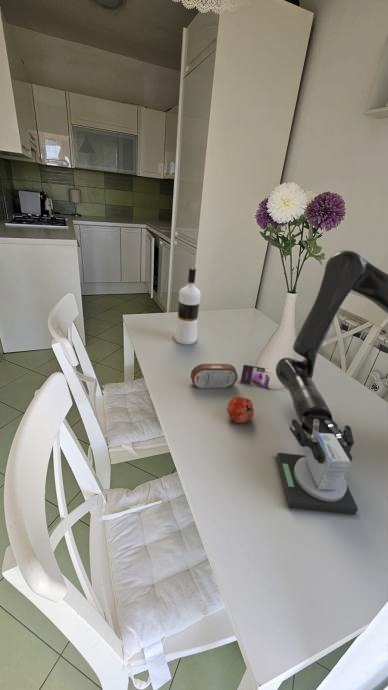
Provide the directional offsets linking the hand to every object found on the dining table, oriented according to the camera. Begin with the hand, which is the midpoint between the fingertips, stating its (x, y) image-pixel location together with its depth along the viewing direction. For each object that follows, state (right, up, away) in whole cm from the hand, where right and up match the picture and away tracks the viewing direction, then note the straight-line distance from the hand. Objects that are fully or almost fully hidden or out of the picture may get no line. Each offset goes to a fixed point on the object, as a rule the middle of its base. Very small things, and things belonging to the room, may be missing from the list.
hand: (335, 461), depth 61 cm
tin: (-22, +10, +37) cm, 45 cm away
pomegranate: (-16, +3, +25) cm, 30 cm away
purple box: (-8, +11, +42) cm, 44 cm away
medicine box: (-1, -5, +6) cm, 8 cm away
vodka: (-32, +25, +65) cm, 76 cm away
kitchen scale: (-2, -8, +7) cm, 11 cm away
